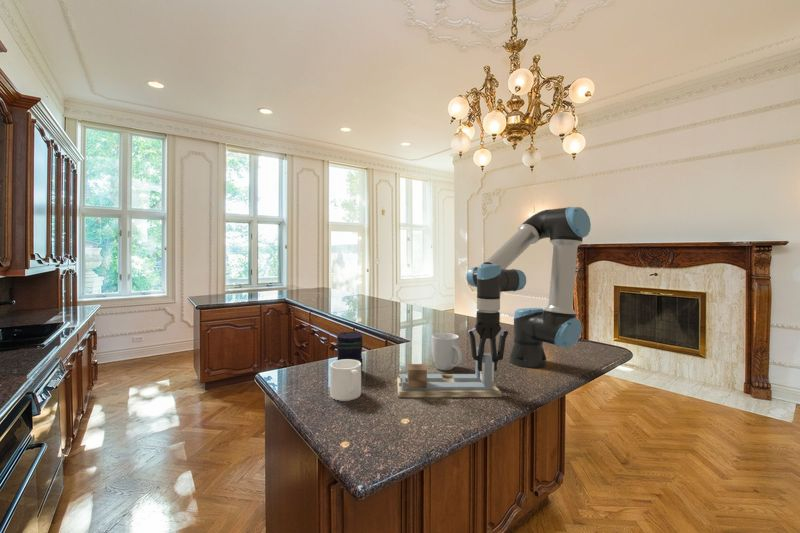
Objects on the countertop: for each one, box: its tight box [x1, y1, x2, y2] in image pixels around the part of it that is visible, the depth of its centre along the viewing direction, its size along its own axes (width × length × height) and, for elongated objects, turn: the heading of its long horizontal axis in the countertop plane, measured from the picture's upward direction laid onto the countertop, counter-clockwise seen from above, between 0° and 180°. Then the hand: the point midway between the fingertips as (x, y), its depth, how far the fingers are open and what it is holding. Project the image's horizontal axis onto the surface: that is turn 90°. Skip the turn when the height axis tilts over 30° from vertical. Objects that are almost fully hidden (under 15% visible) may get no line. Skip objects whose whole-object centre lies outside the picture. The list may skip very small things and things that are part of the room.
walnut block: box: [407, 363, 428, 388], centre depth 118 cm, size 6×6×6 cm
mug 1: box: [329, 359, 362, 402], centre depth 115 cm, size 13×10×10 cm
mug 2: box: [430, 332, 463, 371], centre depth 141 cm, size 15×11×13 cm
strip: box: [402, 353, 493, 391], centre depth 118 cm, size 30×4×11 cm, turn 91°
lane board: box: [396, 373, 503, 398], centre depth 122 cm, size 34×16×2 cm, turn 91°
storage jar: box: [336, 331, 364, 375], centre depth 136 cm, size 10×10×15 cm
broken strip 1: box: [400, 373, 443, 382], centre depth 126 cm, size 15×4×1 cm, turn 91°
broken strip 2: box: [452, 346, 482, 382], centre depth 126 cm, size 11×4×11 cm, turn 91°
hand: (486, 380), depth 118 cm, fingers closed on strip, 2 cm apart
